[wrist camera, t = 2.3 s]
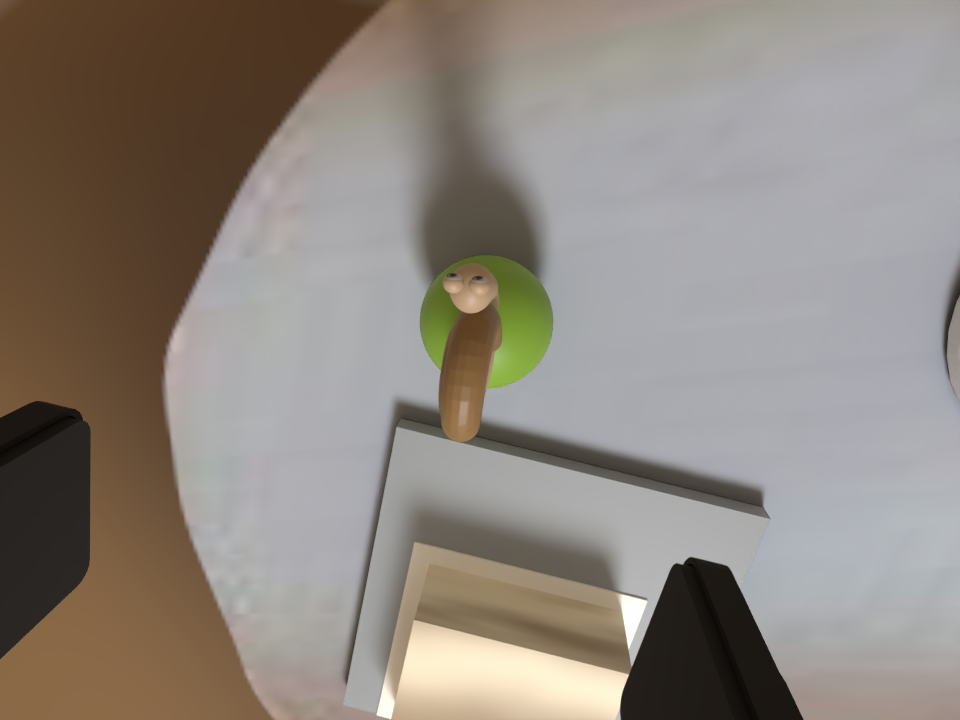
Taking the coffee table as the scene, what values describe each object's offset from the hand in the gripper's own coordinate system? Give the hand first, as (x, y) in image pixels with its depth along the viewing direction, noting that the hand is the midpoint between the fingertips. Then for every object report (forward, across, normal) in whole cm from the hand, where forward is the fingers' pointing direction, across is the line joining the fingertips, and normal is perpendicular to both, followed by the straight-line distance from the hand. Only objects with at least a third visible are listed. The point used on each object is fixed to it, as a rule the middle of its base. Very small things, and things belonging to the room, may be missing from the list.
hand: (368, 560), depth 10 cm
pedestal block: (+18, -6, +19) cm, 27 cm away
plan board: (+19, -7, +16) cm, 26 cm away
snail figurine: (+19, -1, 0) cm, 19 cm away
